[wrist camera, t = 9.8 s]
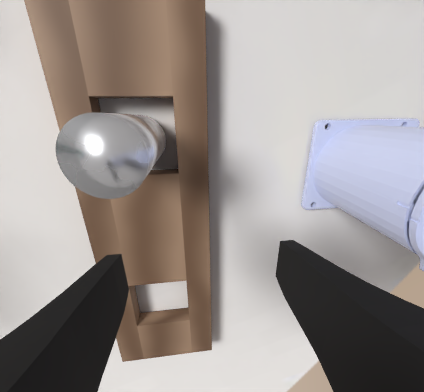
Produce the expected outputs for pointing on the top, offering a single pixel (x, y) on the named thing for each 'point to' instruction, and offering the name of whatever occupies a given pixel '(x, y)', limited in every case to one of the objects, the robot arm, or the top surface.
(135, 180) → the steel rod
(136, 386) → the top surface
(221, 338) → the top surface
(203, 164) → the walnut board
